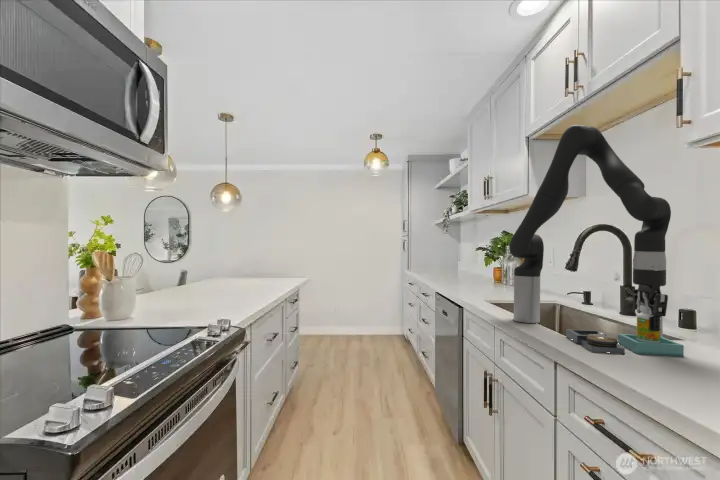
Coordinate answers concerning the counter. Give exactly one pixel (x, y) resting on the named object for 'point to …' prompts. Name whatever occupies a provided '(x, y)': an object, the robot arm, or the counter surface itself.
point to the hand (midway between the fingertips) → (648, 328)
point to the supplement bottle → (646, 327)
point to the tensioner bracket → (595, 341)
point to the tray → (651, 346)
